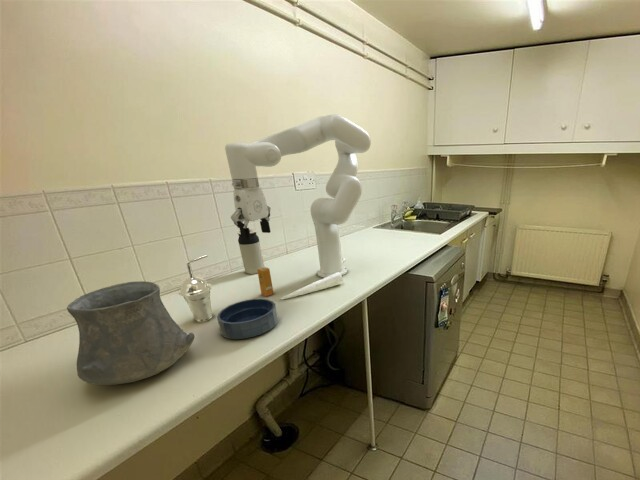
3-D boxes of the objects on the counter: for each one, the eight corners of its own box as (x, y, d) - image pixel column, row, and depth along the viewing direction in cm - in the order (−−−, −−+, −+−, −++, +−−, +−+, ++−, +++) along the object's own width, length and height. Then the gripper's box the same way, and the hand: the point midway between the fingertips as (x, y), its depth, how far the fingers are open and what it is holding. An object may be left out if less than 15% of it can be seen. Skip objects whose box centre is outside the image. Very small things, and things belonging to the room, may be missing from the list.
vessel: (184, 387, 69) (156, 307, 62) (60, 410, 63) (13, 325, 56) (212, 336, 88) (193, 270, 81) (119, 350, 83) (90, 281, 75)
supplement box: (274, 293, 115) (270, 268, 111) (266, 296, 112) (261, 271, 109) (269, 291, 117) (264, 266, 113) (261, 294, 114) (255, 269, 110)
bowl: (247, 311, 102) (244, 296, 100) (288, 316, 98) (286, 301, 96) (208, 337, 88) (203, 320, 86) (254, 344, 84) (250, 326, 82)
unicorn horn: (277, 297, 112) (275, 284, 110) (339, 281, 125) (338, 270, 123) (280, 301, 108) (278, 289, 106) (344, 285, 121) (343, 273, 119)
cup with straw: (194, 313, 101) (176, 255, 94) (224, 310, 103) (209, 252, 96) (183, 327, 93) (163, 264, 86) (216, 322, 95) (199, 261, 88)
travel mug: (254, 275, 133) (245, 234, 126) (241, 272, 136) (231, 232, 129) (269, 269, 139) (261, 229, 133) (256, 266, 143) (248, 228, 136)
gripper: (235, 187, 92) (248, 243, 98) (273, 181, 107) (282, 230, 113) (214, 187, 93) (228, 242, 100) (254, 181, 109) (264, 229, 115)
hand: (256, 235), depth 106 cm, fingers open, 9 cm apart
